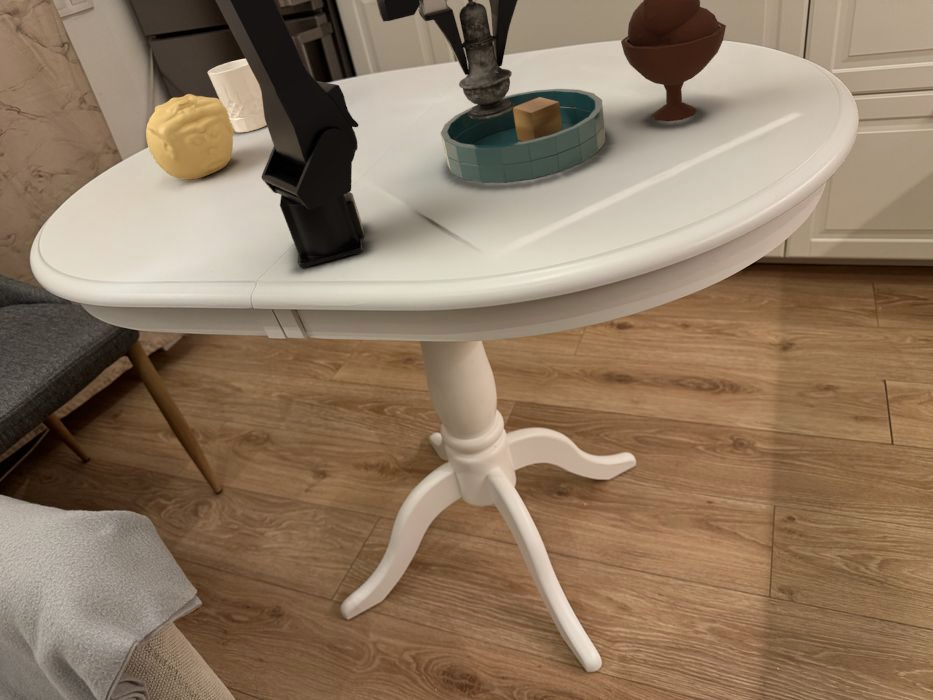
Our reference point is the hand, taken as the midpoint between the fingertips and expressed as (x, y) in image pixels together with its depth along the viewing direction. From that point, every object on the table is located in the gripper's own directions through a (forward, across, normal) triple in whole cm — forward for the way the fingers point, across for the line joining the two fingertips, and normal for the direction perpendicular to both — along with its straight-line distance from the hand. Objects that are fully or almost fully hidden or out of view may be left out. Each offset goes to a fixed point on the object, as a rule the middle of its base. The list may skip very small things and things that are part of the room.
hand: (483, 69), depth 75 cm
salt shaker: (+5, 0, 0) cm, 5 cm away
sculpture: (+11, +40, -28) cm, 50 cm away
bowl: (+11, -4, -1) cm, 11 cm away
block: (+10, -6, -4) cm, 12 cm away
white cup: (+11, +34, -47) cm, 59 cm away
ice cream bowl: (+11, -22, 0) cm, 24 cm away
